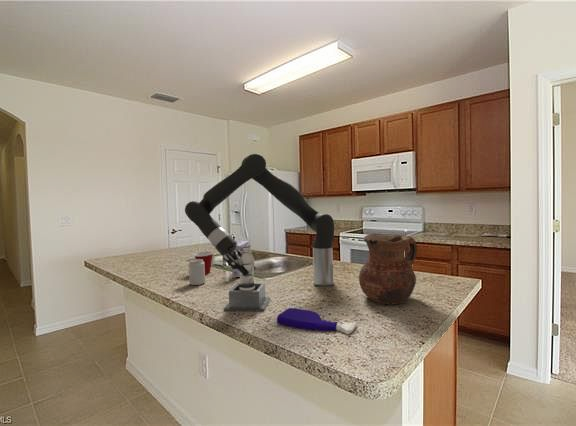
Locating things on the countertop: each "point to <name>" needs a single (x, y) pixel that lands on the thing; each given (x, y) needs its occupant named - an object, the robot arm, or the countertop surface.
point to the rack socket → (247, 299)
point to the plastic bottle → (248, 263)
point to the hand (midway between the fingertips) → (250, 272)
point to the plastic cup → (205, 259)
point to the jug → (388, 268)
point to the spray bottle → (311, 321)
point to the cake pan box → (240, 244)
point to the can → (197, 272)
